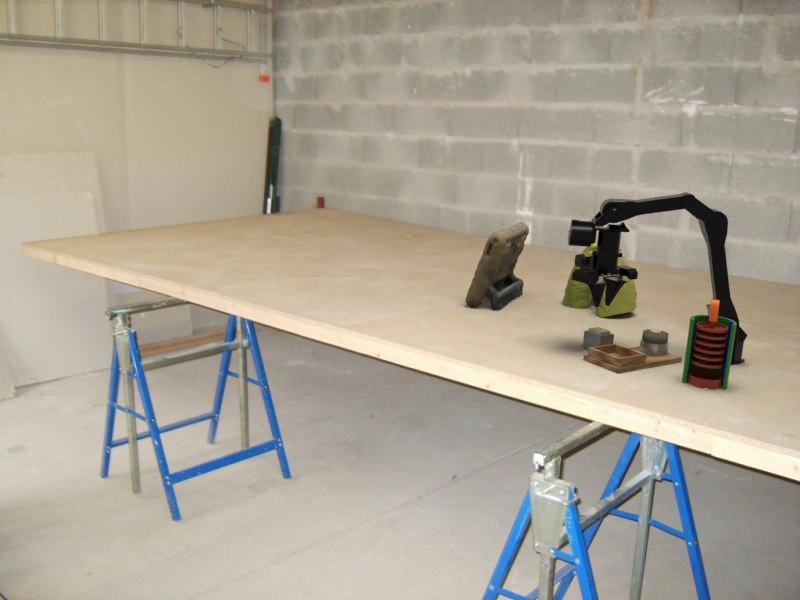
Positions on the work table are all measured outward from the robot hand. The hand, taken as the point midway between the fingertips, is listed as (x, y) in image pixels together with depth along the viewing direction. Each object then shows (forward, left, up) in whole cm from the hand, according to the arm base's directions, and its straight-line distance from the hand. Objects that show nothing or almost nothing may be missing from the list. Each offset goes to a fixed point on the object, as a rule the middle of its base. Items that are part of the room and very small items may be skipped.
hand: (601, 306), depth 215 cm
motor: (-31, -4, -12) cm, 34 cm away
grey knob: (-11, -9, -11) cm, 18 cm away
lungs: (+34, -35, -12) cm, 50 cm away
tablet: (+58, -11, -12) cm, 60 cm away
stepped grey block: (0, 0, -12) cm, 12 cm away
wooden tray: (-11, -2, -12) cm, 16 cm away
